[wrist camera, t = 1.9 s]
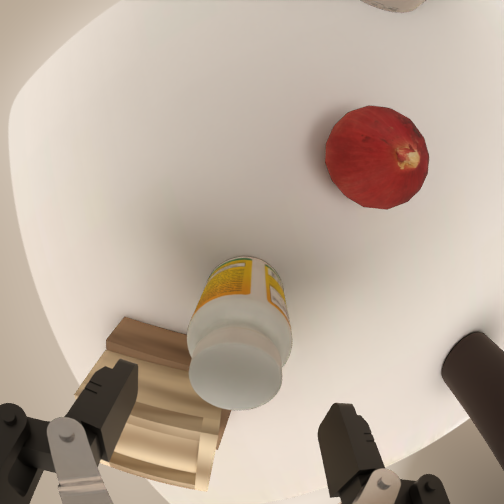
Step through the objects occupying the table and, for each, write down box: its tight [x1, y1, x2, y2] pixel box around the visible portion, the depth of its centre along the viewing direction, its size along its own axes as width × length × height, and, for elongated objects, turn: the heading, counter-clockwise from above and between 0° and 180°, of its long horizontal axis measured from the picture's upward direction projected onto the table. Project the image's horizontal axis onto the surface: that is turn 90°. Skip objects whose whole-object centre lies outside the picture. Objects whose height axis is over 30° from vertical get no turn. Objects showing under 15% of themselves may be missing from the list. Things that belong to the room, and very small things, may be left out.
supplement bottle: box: [187, 256, 292, 410], centre depth 16 cm, size 5×5×10 cm
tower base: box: [106, 317, 231, 450], centre depth 21 cm, size 10×10×4 cm
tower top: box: [74, 350, 222, 492], centre depth 17 cm, size 9×9×5 cm
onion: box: [325, 106, 429, 209], centre depth 14 cm, size 6×6×8 cm
